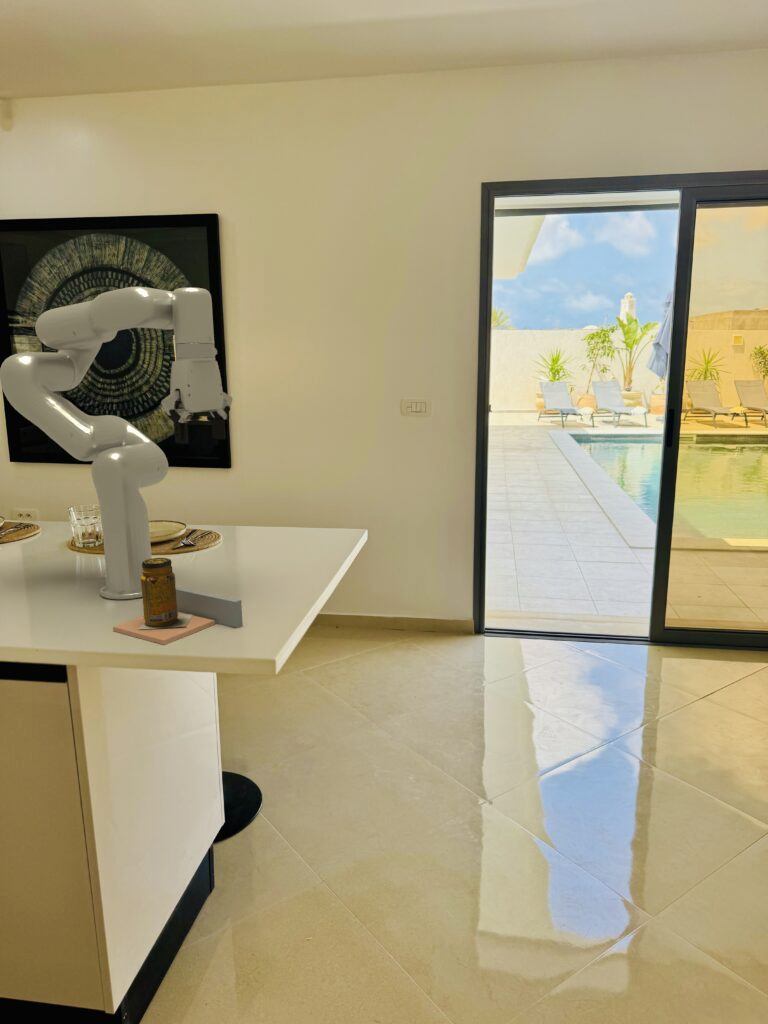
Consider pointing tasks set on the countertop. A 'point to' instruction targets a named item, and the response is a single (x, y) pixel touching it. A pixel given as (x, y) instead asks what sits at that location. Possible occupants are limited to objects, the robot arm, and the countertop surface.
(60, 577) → the countertop surface
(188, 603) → the low wall
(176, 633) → the tile pad
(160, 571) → the condiment
